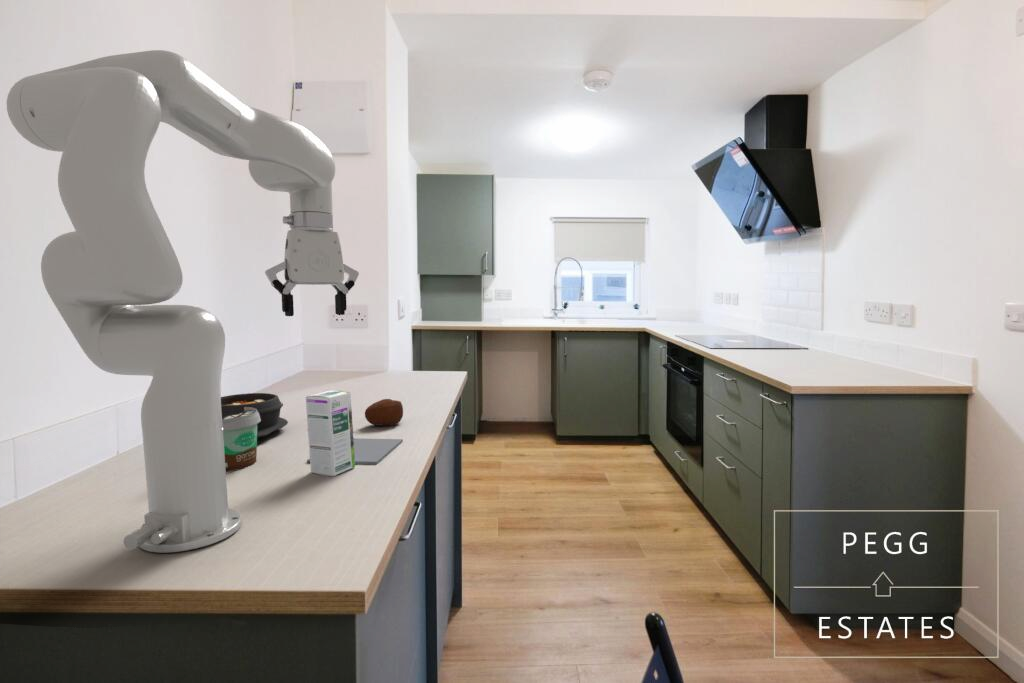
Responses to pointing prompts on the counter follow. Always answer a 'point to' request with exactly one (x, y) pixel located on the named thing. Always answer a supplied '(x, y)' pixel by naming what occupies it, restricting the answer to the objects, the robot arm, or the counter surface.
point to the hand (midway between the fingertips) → (315, 315)
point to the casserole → (265, 406)
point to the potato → (384, 412)
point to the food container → (240, 438)
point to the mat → (372, 449)
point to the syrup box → (330, 432)
